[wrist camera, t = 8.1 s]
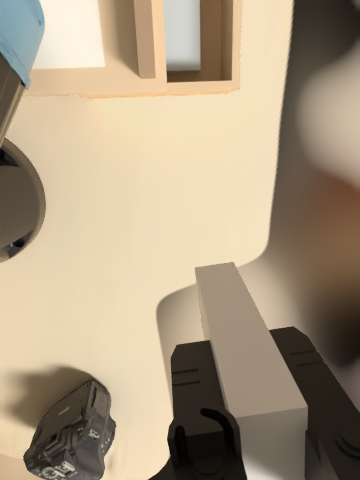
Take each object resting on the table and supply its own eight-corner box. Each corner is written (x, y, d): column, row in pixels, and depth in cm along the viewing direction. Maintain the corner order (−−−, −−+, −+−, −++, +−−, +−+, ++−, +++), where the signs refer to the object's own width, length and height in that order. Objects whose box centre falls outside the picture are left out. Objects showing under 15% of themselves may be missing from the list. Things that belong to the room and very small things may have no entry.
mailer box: (91, 98, 33) (77, 95, 28) (74, -34, 29) (54, -70, 24) (226, 93, 34) (239, 89, 28) (228, -37, 30) (243, -73, 24)
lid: (1, 97, 27) (-22, 95, 24) (-35, -69, 23) (-68, -101, 20) (167, 91, 28) (168, 88, 24) (159, -72, 24) (159, -104, 20)
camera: (95, 446, 51) (80, 520, 42) (34, 427, 49) (4, 500, 40) (131, 388, 47) (124, 454, 38) (67, 364, 45) (43, 429, 36)
